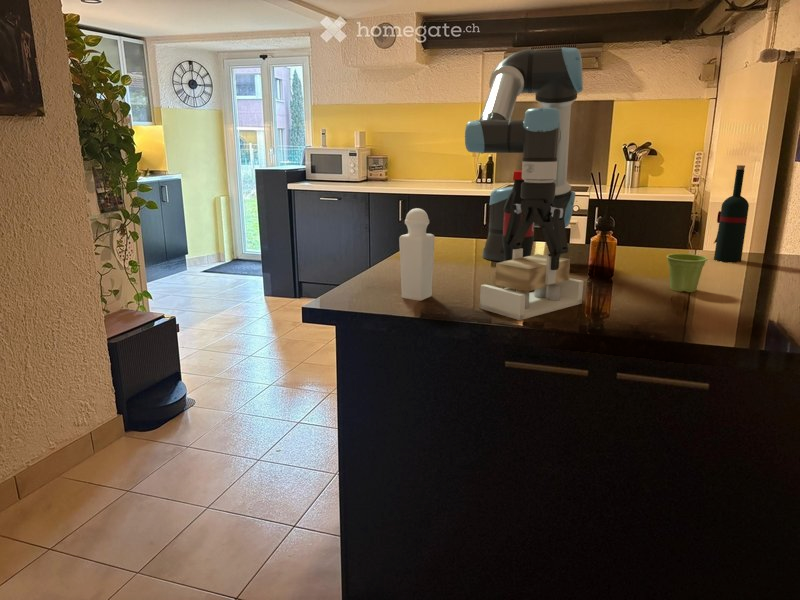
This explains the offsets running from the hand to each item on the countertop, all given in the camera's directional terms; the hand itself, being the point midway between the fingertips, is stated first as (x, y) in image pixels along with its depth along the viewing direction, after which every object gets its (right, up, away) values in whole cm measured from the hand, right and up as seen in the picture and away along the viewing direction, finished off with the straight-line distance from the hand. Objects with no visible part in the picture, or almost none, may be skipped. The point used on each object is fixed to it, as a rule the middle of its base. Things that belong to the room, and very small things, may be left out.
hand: (532, 279), depth 135 cm
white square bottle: (-27, -4, +10) cm, 29 cm away
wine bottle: (+75, +8, +55) cm, 93 cm away
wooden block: (0, -1, 0) cm, 1 cm away
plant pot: (+43, -2, +16) cm, 46 cm away
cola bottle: (+1, 0, +26) cm, 26 cm away
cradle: (0, -6, +2) cm, 6 cm away
